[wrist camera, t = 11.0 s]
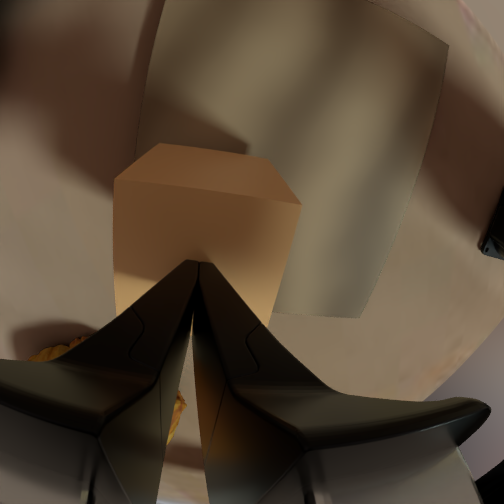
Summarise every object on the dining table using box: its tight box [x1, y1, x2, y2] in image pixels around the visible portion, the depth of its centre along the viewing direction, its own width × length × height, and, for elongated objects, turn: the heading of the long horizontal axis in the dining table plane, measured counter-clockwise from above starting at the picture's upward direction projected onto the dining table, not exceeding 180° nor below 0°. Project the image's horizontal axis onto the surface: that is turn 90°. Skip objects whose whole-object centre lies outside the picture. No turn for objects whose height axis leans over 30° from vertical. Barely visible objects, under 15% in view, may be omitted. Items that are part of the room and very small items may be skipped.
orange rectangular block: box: [113, 143, 302, 336], centre depth 12 cm, size 5×5×7 cm
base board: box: [134, 0, 449, 318], centre depth 16 cm, size 16×20×1 cm
